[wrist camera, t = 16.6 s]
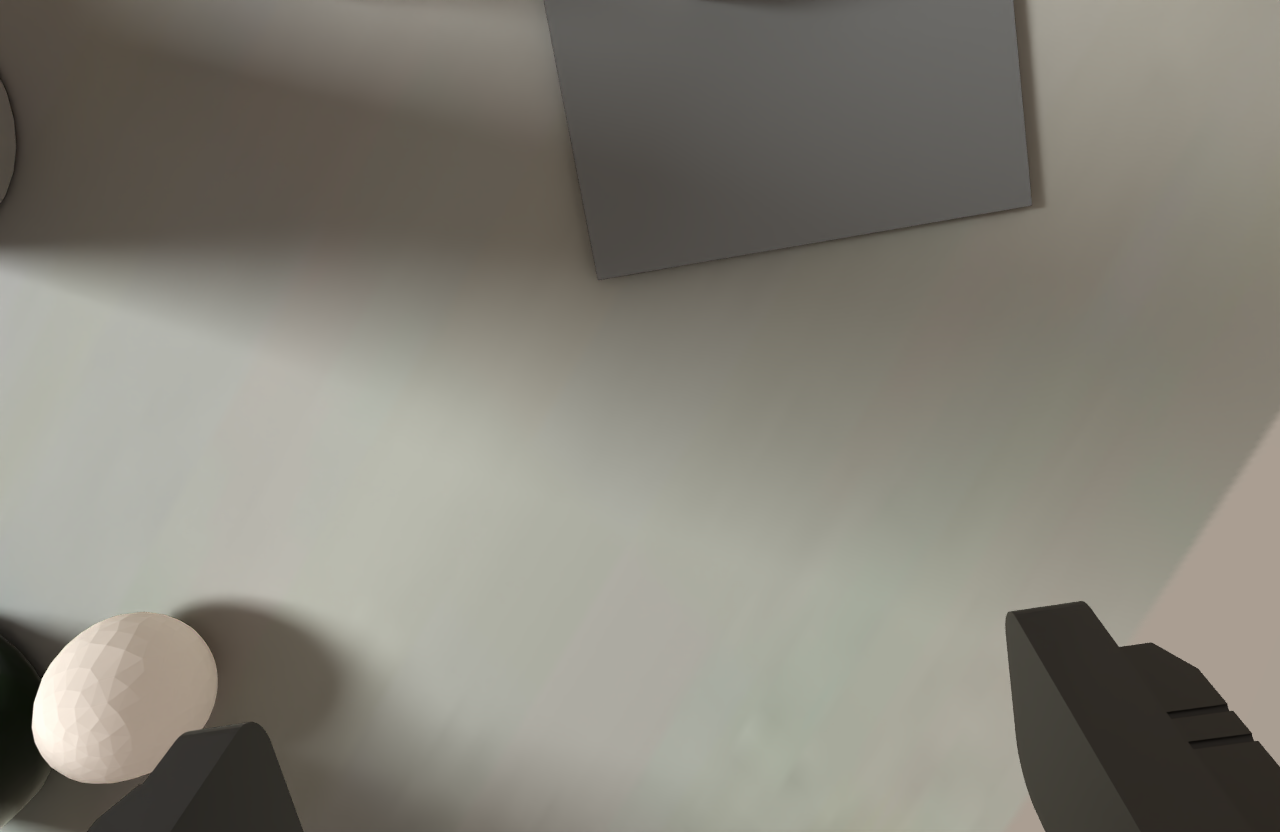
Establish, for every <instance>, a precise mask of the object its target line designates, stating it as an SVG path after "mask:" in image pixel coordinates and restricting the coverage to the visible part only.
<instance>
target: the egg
mask: <svg viewBox="0 0 1280 832" xmlns="http://www.w3.org/2000/svg"><path fill="white" fill-rule="evenodd" d="M217 690H218V675H217V669H216V663H215V660H214V658H213V655H212V653H211V651H210V649H209V647H208V645H207V644H206V642H205V641H204V640H203V638H202V637H201V636H200V635H199V634H198V633H197V632H196V631H195V630H194V629H193V628H192V627H190V626H188V625H187V624H185V623H184V622H182V621H180V620H177V619H175V618H172V617H169V616H167V615H164V614H157V613H150V612H137V613H129V614H120V615H117V616H114V617H111V618H108V619H106V620H103V621H101V622H98V623H96V624H94V625H93V626H91V627H89V628H88V629H86V630H85V631H83V632H82V633H80V634H79V635H78V636H77V637H75V638H74V639H73V640H72V641H71V642H69V643H68V644H67V645H66V646H65V647H64V648H63V649H62V651H61V652H60V653H59V654H58V655H57V657H56V658H55V659H54V660H53V661H52V663H51V664H50V666H49V667H48V669H47V671H46V672H45V674H44V676H43V678H42V681H41V683H40V686H39V689H38V692H37V695H36V698H35V701H34V706H33V718H32V731H33V736H34V742H35V744H36V746H37V748H38V750H39V752H40V754H41V755H42V757H43V758H44V759H45V761H46V762H47V763H48V764H49V765H50V767H52V768H53V769H55V770H56V771H58V772H60V773H61V774H63V775H64V776H66V777H67V778H70V779H72V780H75V781H78V782H82V783H92V784H101V783H116V782H121V781H126V780H130V779H134V778H137V777H140V776H143V775H146V774H149V773H151V772H152V771H153V770H154V769H155V767H156V766H157V765H158V763H159V762H160V761H161V759H162V758H163V757H164V755H165V754H166V753H167V751H168V750H169V749H170V747H171V746H172V745H173V743H174V742H175V741H176V740H177V739H178V737H179V736H180V735H182V734H183V733H185V732H188V731H194V730H200V729H203V727H204V725H205V724H206V722H207V721H208V719H209V717H210V715H211V712H212V710H213V707H214V705H215V700H216V695H217Z"/></svg>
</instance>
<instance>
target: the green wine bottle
mask: <svg viewBox="0 0 1280 832" xmlns="http://www.w3.org/2000/svg"><path fill="white" fill-rule="evenodd" d="M41 681H42V680H41V679H40V677H39V676H38V674H37V672H36V671H35V669H34V667H33V666H32V665H31V664H30V663H29V662H28V660H27V659H26V658H25V657H24V656H23V655H22V653H21V652H20V651H19V650H18V649H17V648H16V647H14V646H13V645H12V644H11V643H10V642H9V641H7V640H6V639H5V638H4V637H3V636H2V635H0V829H1V828H2V827H3V826H5V825H6V824H7V823H8V822H9V821H10V820H11V819H12V818H13V817H14V816H15V815H16V814H17V813H18V812H19V811H20V810H21V809H22V808H23V807H24V806H25V805H26V804H27V803H28V802H29V801H30V800H31V799H32V798H33V797H34V796H35V795H36V793H37V792H38V791H39V790H40V789H41V788H42V787H43V785H44V783H45V781H46V779H47V777H48V775H49V773H50V772H51V768H52V767H50V765H49V764H48V763H47V762H46V761H45V759H44V758H43V757H42V755H41V754H40V752H39V750H38V748H37V746H36V744H35V742H34V736H33V731H32V718H33V706H34V701H35V698H36V695H37V692H38V689H39V686H40V683H41Z"/></svg>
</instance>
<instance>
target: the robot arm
mask: <svg viewBox="0 0 1280 832" xmlns="http://www.w3.org/2000/svg"><path fill="white" fill-rule="evenodd" d="M15 153H16V138H15V126H14V118H13V114H12V111H11V107H10V103H9V100H8V96H7V92H6V90H5V88H4V86H3V84H2V82H1V80H0V203H1V202H2V200H3V198H4V197H5V195H6V192H7V189H8V186H9V183H10V180H11V177H12V174H13V171H14V162H15ZM1005 626H1006V641H1007V651H1008V661H1009V671H1010V681H1011V691H1012V701H1013V711H1014V721H1015V731H1016V741H1017V748H1018V754H1019V759H1020V763H1021V768H1022V772H1023V776H1024V779H1025V783H1026V786H1027V789H1028V792H1029V795H1030V798H1031V801H1032V803H1033V806H1034V808H1035V810H1036V812H1037V814H1038V816H1039V819H1040V821H1041V823H1042V825H1043V828H1044V830H1045V831H1046V832H1280V767H1279V765H1278V764H1277V763H1276V762H1275V761H1274V759H1273V758H1272V757H1271V756H1270V755H1269V753H1268V752H1267V751H1266V750H1265V749H1264V747H1263V746H1262V745H1261V744H1260V743H1259V741H1254V740H1253V737H1252V733H1251V732H1250V731H1249V729H1248V728H1247V727H1246V726H1245V725H1244V723H1243V722H1242V721H1241V720H1240V718H1239V717H1238V716H1237V715H1236V714H1235V713H1234V711H1229V709H1228V706H1227V703H1226V702H1225V700H1224V699H1223V698H1222V697H1221V696H1220V694H1219V693H1218V692H1217V691H1216V690H1215V688H1213V686H1212V685H1211V684H1210V683H1209V681H1208V680H1207V679H1206V678H1205V677H1204V675H1203V674H1202V673H1201V672H1200V670H1199V669H1198V668H1196V667H1194V666H1192V665H1190V664H1189V663H1187V662H1185V661H1183V660H1182V659H1180V658H1178V657H1176V656H1174V655H1173V654H1171V653H1169V652H1167V651H1166V650H1164V649H1162V648H1160V647H1159V646H1157V645H1155V644H1153V643H1145V644H1138V645H1131V646H1124V647H1118V645H1117V644H1116V642H1115V641H1114V640H1113V638H1112V637H1111V636H1110V634H1109V633H1108V631H1107V630H1106V629H1105V627H1104V626H1103V625H1102V623H1101V622H1100V620H1099V619H1098V618H1097V616H1096V615H1095V614H1094V612H1093V611H1092V609H1091V608H1090V607H1089V606H1088V605H1087V604H1086V603H1085V602H1083V601H1079V602H1072V603H1065V604H1058V605H1051V606H1045V607H1038V608H1031V609H1024V610H1018V611H1011V612H1008V613H1007V616H1006V623H1005ZM87 832H303V829H302V827H301V824H300V821H299V818H298V816H297V813H296V810H295V807H294V805H293V802H292V799H291V796H290V793H289V791H288V788H287V785H286V782H285V780H284V777H283V774H282V771H281V769H280V766H279V763H278V760H277V758H276V755H275V752H274V749H273V747H272V744H271V741H270V739H269V737H268V735H267V733H266V731H265V730H264V729H263V728H262V727H261V726H260V725H259V724H257V723H254V722H248V723H241V724H234V725H227V726H221V727H214V728H207V729H200V730H194V731H188V732H185V733H183V734H182V735H180V736H179V737H178V739H177V740H176V741H175V742H174V743H173V745H172V746H171V747H170V749H169V750H168V751H167V753H166V754H165V755H164V757H163V758H162V759H161V761H160V762H159V763H158V765H157V766H156V767H155V769H154V770H153V771H152V773H151V774H150V775H149V777H148V778H147V779H146V781H145V782H144V783H143V785H139V786H137V787H136V788H135V789H134V790H133V791H131V792H130V793H129V794H128V795H126V796H125V797H124V798H123V799H122V800H120V801H119V802H118V803H117V804H115V805H114V806H113V807H112V808H111V809H109V810H108V811H107V812H106V813H104V814H103V815H102V816H101V817H100V818H98V819H97V820H96V821H95V822H94V823H93V825H92V826H91V827H90V829H89V830H88V831H87Z"/></svg>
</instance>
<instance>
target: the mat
mask: <svg viewBox="0 0 1280 832" xmlns="http://www.w3.org/2000/svg"><path fill="white" fill-rule="evenodd" d="M544 5H545V10H546V15H547V20H548V25H549V31H550V36H551V41H552V46H553V51H554V56H555V61H556V67H557V72H558V77H559V82H560V87H561V92H562V97H563V103H564V108H565V113H566V118H567V123H568V128H569V133H570V139H571V144H572V149H573V154H574V159H575V164H576V169H577V175H578V180H579V185H580V190H581V195H582V200H583V205H584V211H585V216H586V221H587V226H588V231H589V236H590V242H591V247H592V252H593V257H594V262H595V267H596V272H597V278H598V280H602V279H608V278H613V277H619V276H625V275H631V274H637V273H642V272H648V271H654V270H660V269H666V268H672V267H677V266H683V265H689V264H695V263H701V262H706V261H712V260H718V259H724V258H730V257H735V256H741V255H747V254H753V253H759V252H765V251H770V250H776V249H782V248H788V247H794V246H799V245H805V244H811V243H817V242H823V241H828V240H834V239H840V238H846V237H852V236H858V235H863V234H869V233H875V232H881V231H887V230H892V229H898V228H904V227H910V226H916V225H921V224H927V223H933V222H939V221H945V220H951V219H956V218H962V217H968V216H974V215H980V214H985V213H991V212H997V211H1003V210H1009V209H1015V208H1020V207H1026V206H1032V199H1031V188H1030V177H1029V166H1028V156H1027V145H1026V134H1025V123H1024V112H1023V101H1022V91H1021V80H1020V69H1019V58H1018V47H1017V36H1016V26H1015V15H1014V4H1013V0H544Z"/></svg>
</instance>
